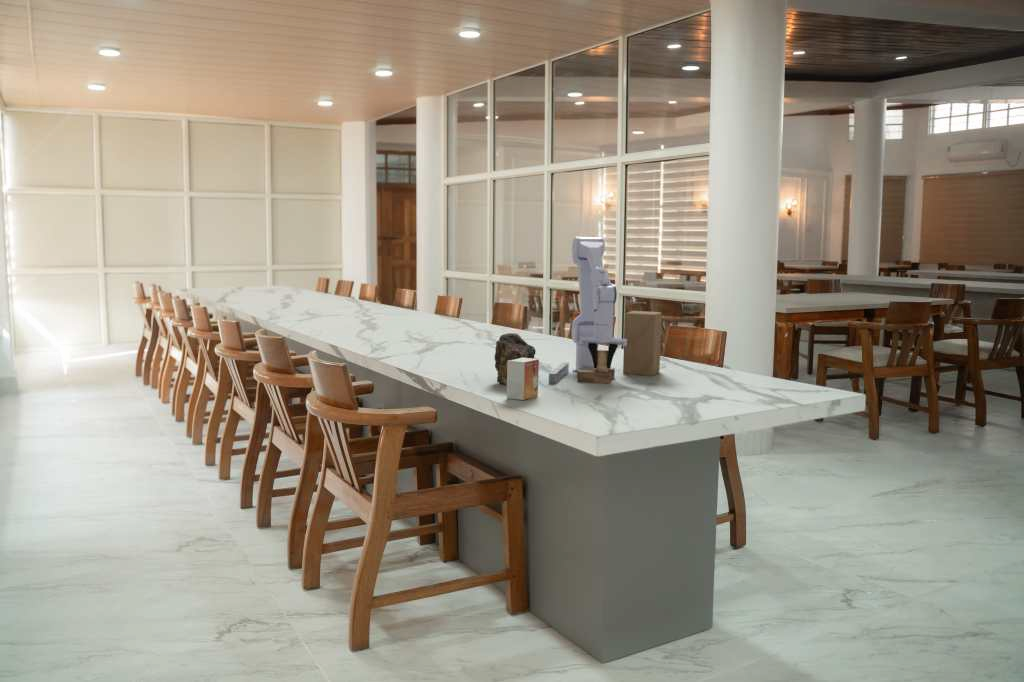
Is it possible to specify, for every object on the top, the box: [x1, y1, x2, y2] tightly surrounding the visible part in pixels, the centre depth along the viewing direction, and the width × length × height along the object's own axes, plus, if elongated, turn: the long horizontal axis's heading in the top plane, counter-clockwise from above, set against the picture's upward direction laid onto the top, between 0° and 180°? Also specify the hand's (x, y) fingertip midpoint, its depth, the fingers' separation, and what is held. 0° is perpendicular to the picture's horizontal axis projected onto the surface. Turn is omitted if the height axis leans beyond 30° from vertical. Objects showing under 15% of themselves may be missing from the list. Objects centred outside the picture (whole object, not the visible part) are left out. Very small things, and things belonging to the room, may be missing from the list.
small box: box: [506, 358, 540, 401], centre depth 234 cm, size 8×6×10 cm
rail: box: [548, 362, 570, 385], centre depth 268 cm, size 24×2×3 cm, turn 167°
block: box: [576, 366, 616, 384], centre depth 265 cm, size 12×10×3 cm
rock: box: [494, 332, 537, 387], centre depth 257 cm, size 14×13×15 cm
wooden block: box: [622, 310, 663, 377], centre depth 279 cm, size 10×10×20 cm
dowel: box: [596, 349, 608, 372], centre depth 265 cm, size 4×4×9 cm
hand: (602, 367), depth 265 cm, fingers closed on dowel, 4 cm apart
